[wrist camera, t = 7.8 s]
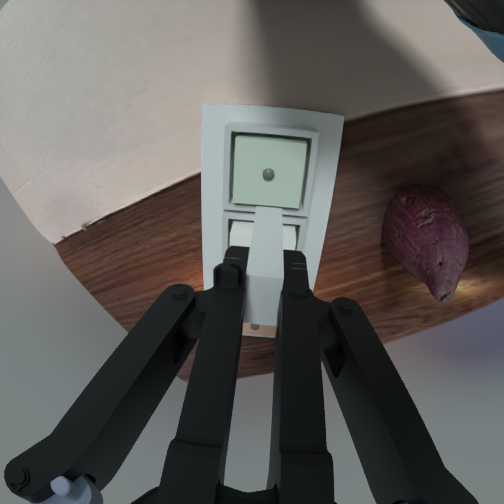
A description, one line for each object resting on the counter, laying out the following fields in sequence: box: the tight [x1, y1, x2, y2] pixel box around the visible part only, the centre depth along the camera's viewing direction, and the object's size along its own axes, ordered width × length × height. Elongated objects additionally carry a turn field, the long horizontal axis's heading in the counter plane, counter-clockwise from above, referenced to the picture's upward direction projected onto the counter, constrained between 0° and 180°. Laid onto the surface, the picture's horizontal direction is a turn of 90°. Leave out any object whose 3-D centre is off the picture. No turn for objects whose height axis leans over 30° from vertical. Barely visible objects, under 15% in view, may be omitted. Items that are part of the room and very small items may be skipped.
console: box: [201, 103, 344, 338], centre depth 35 cm, size 30×14×4 cm, turn 176°
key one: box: [233, 133, 307, 208], centre depth 29 cm, size 6×6×3 cm
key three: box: [243, 323, 277, 336], centre depth 38 cm, size 6×6×3 cm
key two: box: [230, 221, 296, 250], centre depth 32 cm, size 6×6×3 cm
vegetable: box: [382, 186, 469, 303], centre depth 29 cm, size 10×10×15 cm
